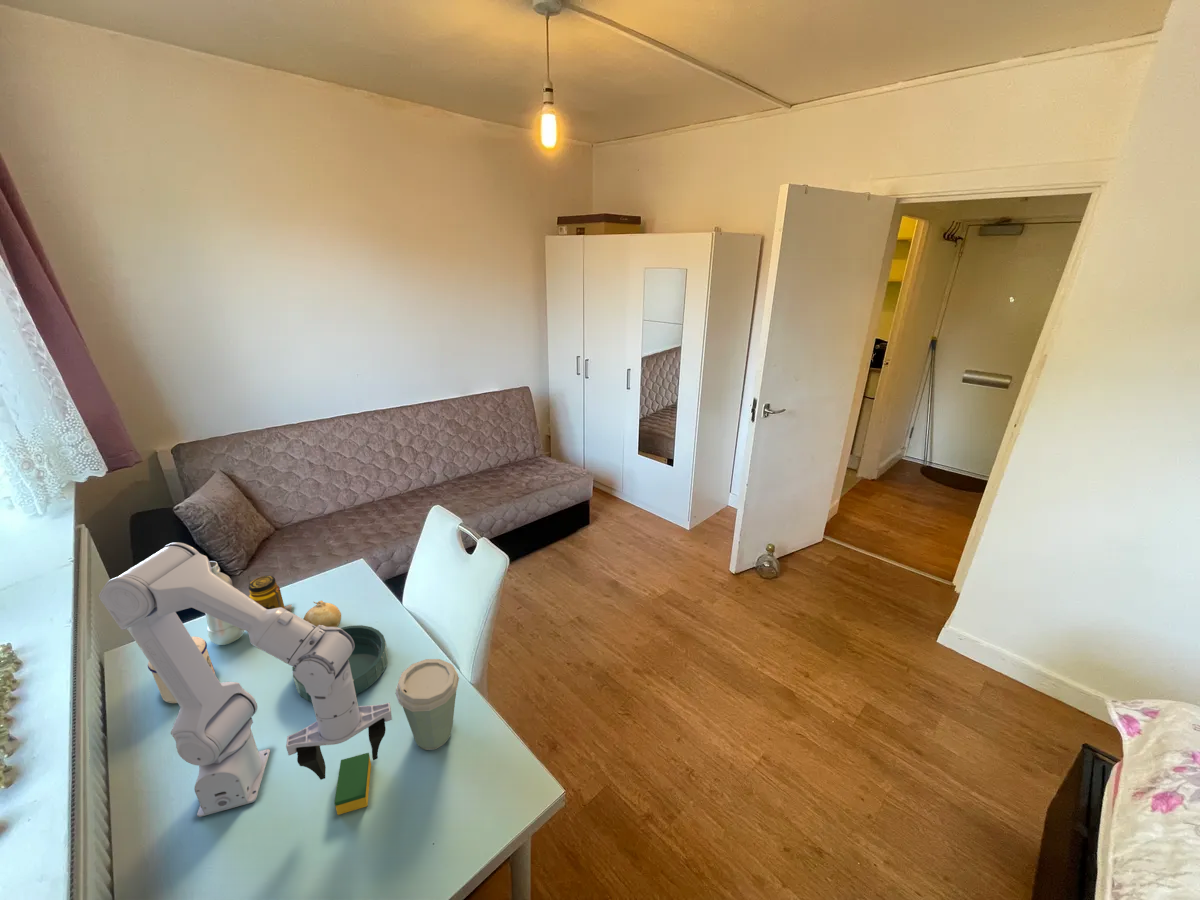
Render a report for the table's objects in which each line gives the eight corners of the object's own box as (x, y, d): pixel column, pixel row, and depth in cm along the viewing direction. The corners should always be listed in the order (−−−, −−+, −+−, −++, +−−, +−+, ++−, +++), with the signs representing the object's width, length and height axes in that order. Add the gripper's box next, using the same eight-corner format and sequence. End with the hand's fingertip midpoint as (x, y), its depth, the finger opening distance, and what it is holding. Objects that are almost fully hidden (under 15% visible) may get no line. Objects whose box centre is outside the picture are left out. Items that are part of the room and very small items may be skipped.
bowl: (385, 692, 100) (383, 676, 98) (287, 715, 94) (283, 698, 93) (390, 633, 115) (387, 618, 114) (305, 650, 110) (302, 634, 108)
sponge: (367, 806, 80) (364, 794, 78) (337, 815, 78) (334, 803, 77) (371, 764, 86) (368, 752, 85) (343, 771, 85) (340, 759, 84)
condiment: (254, 636, 113) (241, 594, 109) (257, 613, 120) (246, 573, 116) (290, 626, 117) (280, 585, 112) (292, 605, 124) (282, 565, 119)
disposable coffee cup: (442, 701, 98) (435, 644, 93) (475, 733, 92) (470, 673, 87) (393, 738, 91) (382, 677, 85) (425, 775, 84) (416, 712, 79)
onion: (350, 623, 118) (345, 599, 116) (322, 645, 111) (316, 620, 109) (326, 614, 121) (320, 590, 118) (297, 635, 114) (291, 611, 111)
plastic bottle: (214, 633, 114) (191, 561, 106) (249, 625, 117) (228, 554, 109) (207, 652, 108) (182, 577, 101) (244, 643, 111) (222, 570, 104)
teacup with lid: (225, 682, 101) (210, 638, 97) (170, 713, 94) (152, 667, 90) (201, 656, 107) (186, 614, 103) (148, 684, 100) (130, 639, 96)
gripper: (384, 668, 81) (394, 727, 86) (282, 699, 75) (300, 760, 80) (388, 701, 75) (398, 761, 80) (278, 737, 69) (297, 800, 74)
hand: (349, 763), depth 80 cm, fingers open, 7 cm apart
